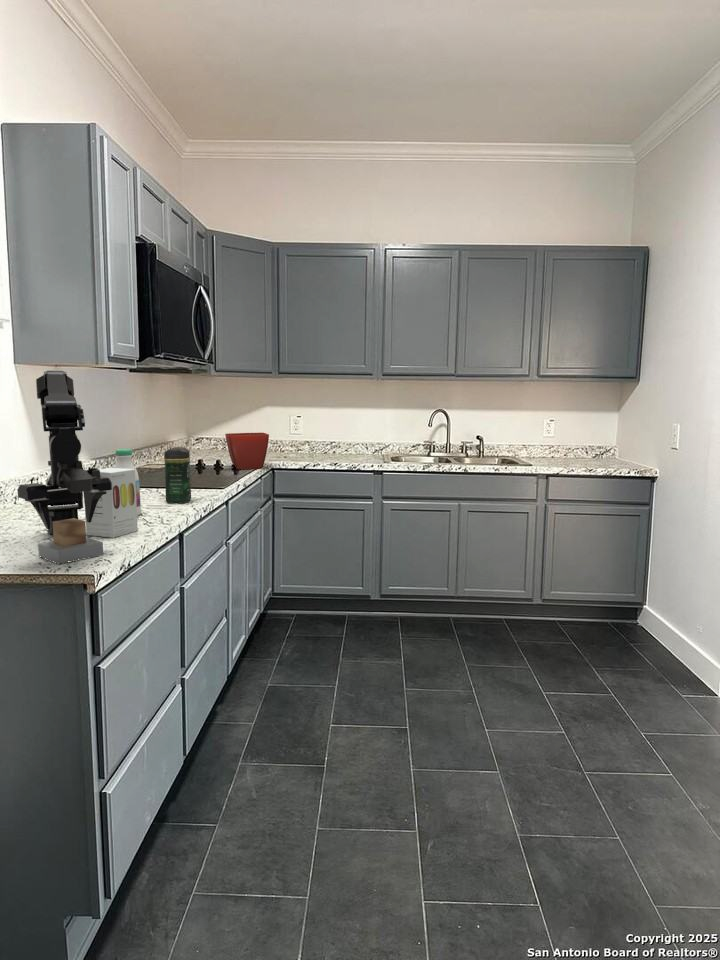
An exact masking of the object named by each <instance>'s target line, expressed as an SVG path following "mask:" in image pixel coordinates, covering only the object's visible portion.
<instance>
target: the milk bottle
mask: <svg viewBox="0 0 720 960" xmlns="http://www.w3.org/2000/svg"><path fill="white" fill-rule="evenodd" d="M132 457H133V450H132V448H123V449H121V448H119V449H115V458H116V462H115V467H114V468H122V469H135V482H136V504H137V517H138V516H140V515H141V514H142V508H141V507H142V506H141V491H140V489H141V488H140V478H139V473H138V470H137V468H136V466H135V465H134V462H133V459H132Z"/></svg>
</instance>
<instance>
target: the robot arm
mask: <svg viewBox="0 0 720 960" xmlns="http://www.w3.org/2000/svg"><path fill="white" fill-rule="evenodd" d="M35 385H36V386H35V387H36V397H37V399H39V400H40V405H41V406H40V407H41V416H42V417H41V418H42V419H41V420H42V426H43V427H42V429H43V432H49V433H48V434H49V435H48V447H49V460H48V461H47V465H48V466H49V467H50V474H49V476H48V478H47V479H46V484H43V483H39V482H38V483H37V482H34V483H32V482H31V483H25V484H20V485H19V486H18V488H17V498H19V499H23V500H24V501H25V502H27V503H30V504H31V505H32V506H33V508H34V509H35V511H36V512H37V514H38V516H39V517H40V520H41V522H42V523H43V525H44V527H45V529H47V531H46V532H47V534H49V535H50V534H51V535H53V523H52V522H53V521H60V520H66V519H72V518H76V519H79V510H80V511H81V510H82V509H84V514H85V513H86V518H85V520H86V519H87V522H89V523H90V522H91V520H92V517H93V514H94V511H95V508H96V505H97V503H98V500H99V499H100V498H101V496H102V495H104V494H106V493H107V492H105V491H107V490H112V482H111V480H110V479H109V478H106V477H100V470H99V468H98V467H93V468H88V469H84V467H83V462H82V460H79V459H80V458H79V457H80V456H79V455H80V453H81V451H82V444H81V442H80V439H79V438H78V435H77V433H76V432H77V431H84V428H85V427H86V422H85V420H86V419H85V413H84V409H83V408H82V405H81V404H79V403H78V404H77V399H76V397H75V388H74V387H75V386H74V379H73V378H72V377H70V376H68V374H67V371H64V370H46V371H43V375H40V376H39V377H38V378H36V380H35Z"/></svg>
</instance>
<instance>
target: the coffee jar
mask: <svg viewBox="0 0 720 960" xmlns="http://www.w3.org/2000/svg"><path fill="white" fill-rule="evenodd" d="M163 455H164V456H163V459H164V474H165V476H164V478H165V479H164V480H165V481H164V482H165V502H166V503H170V504H173V503H178V504H180V503H181V504H182V502H184V503H183V504H186V503H188V502H190V501H191V500H192V487H191V484H192V483H191V457H190V455H191V454H190V450H189V449H188V448H186V447H182V446H175V447H171V448H169V449H167V450H165V451H164V452H163Z"/></svg>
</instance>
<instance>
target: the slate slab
mask: <svg viewBox="0 0 720 960" xmlns="http://www.w3.org/2000/svg"><path fill="white" fill-rule="evenodd" d="M37 550H38V557H39V556H41V557H43V558H42V559H44V558H46V559H48V560H47V561H49V560H51V561H50V562H52V561H54V562H56V563H55V564H57V563H63V564H65V563H64V562H68V561H73V560H78V559H83V558H87V559H89V558H88V557H92V558H95V557H94V556H97V557H100V556H99V555H102V556H104V542H102V541H100V540H97V539H93V538H90V537H88V536H86V543H82V544H77V545H71V546H66V547H64V546H60V545H57V544H54V540H51V541H46V542H41V543H37ZM41 557H40V558H41ZM46 559H45V560H46ZM83 560H84V559H83ZM78 561H79V560H78ZM54 562H53V563H54ZM73 562H74V561H73ZM68 563H69V562H68Z"/></svg>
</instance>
